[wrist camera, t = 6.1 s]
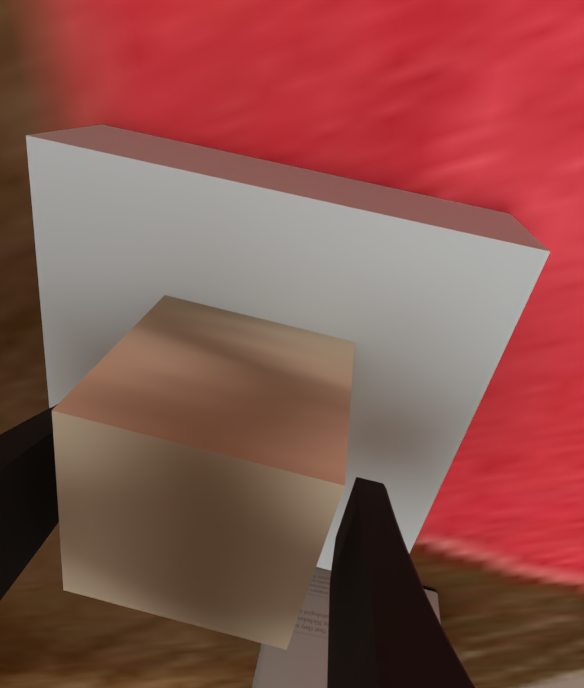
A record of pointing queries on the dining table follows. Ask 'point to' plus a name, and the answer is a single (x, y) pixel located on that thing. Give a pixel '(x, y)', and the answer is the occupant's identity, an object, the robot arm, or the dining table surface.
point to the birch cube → (204, 468)
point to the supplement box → (306, 643)
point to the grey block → (286, 282)
